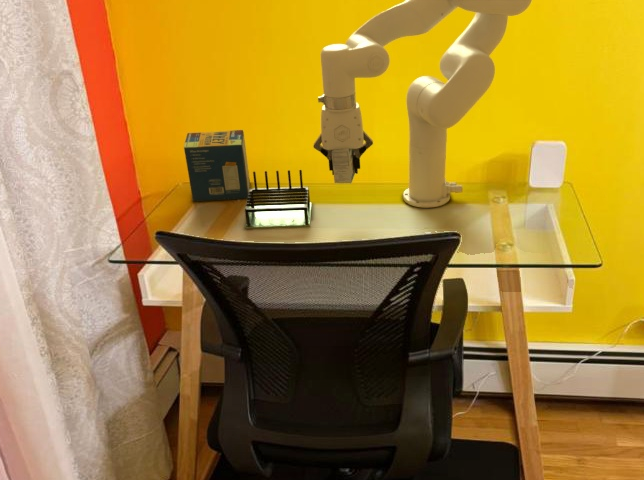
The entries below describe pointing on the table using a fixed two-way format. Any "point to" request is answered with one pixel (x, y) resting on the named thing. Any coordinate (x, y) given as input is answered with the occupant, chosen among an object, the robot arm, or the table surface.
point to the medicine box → (343, 165)
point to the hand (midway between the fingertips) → (345, 171)
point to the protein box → (217, 165)
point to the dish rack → (278, 206)
